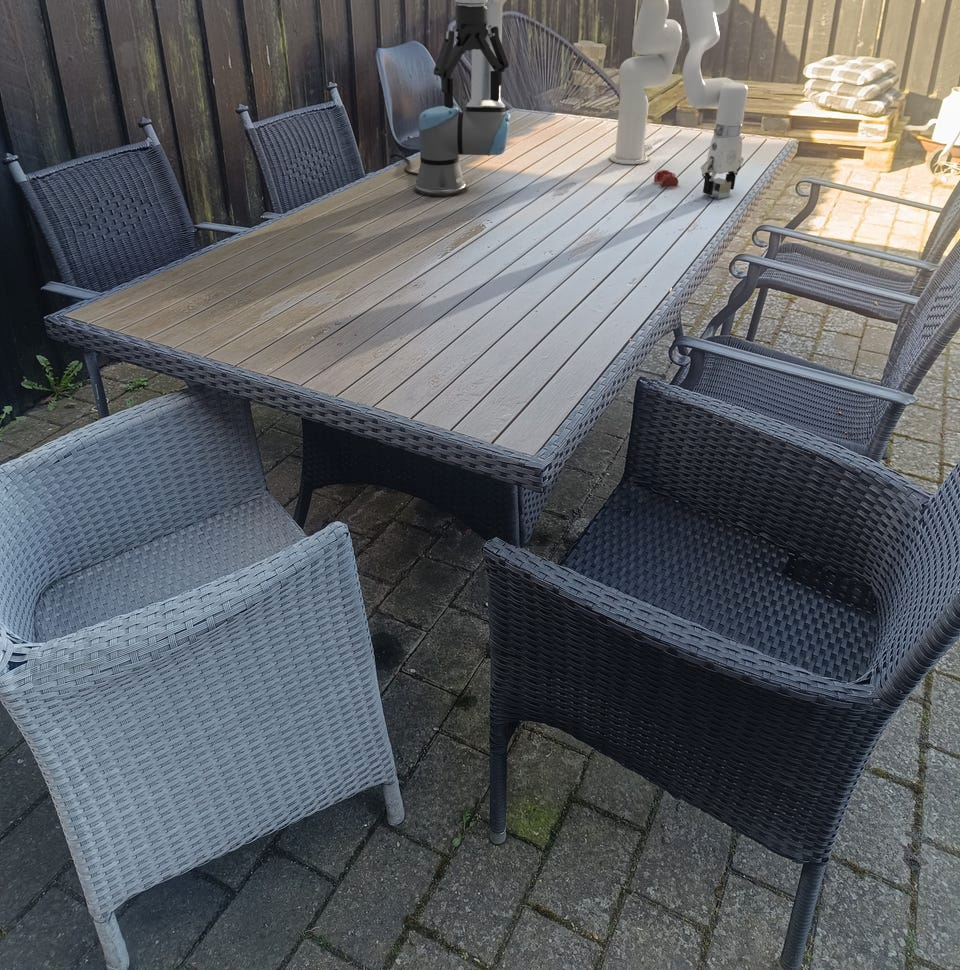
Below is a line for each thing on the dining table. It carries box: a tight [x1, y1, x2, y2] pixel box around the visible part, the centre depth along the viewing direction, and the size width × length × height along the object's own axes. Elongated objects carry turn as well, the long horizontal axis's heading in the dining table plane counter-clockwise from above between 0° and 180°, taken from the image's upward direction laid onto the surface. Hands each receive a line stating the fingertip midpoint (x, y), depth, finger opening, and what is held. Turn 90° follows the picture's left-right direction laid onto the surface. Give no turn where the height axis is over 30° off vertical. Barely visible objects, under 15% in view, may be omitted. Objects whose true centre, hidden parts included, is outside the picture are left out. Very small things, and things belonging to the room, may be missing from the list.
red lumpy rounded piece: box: [653, 169, 679, 188], centre depth 261 cm, size 6×4×8 cm
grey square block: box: [704, 177, 731, 200], centre depth 252 cm, size 5×5×4 cm
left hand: (472, 104), depth 206 cm, fingers open, 13 cm apart
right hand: (718, 191), depth 253 cm, fingers open, 8 cm apart
